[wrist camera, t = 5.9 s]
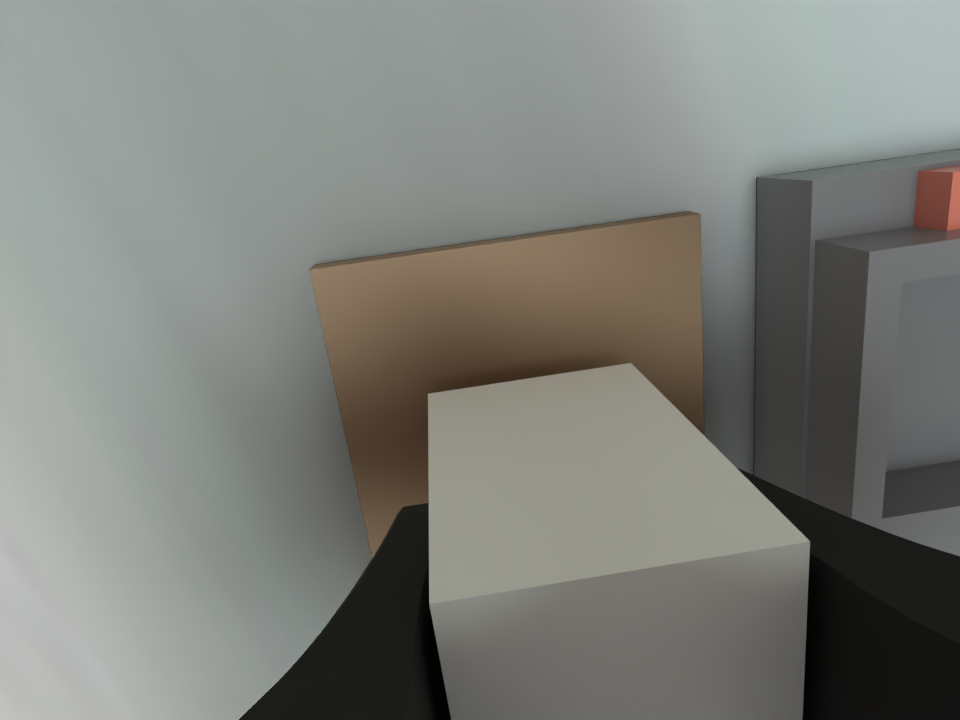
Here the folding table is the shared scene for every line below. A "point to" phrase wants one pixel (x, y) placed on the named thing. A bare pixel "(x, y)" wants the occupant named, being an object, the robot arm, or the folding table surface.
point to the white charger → (605, 560)
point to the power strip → (863, 342)
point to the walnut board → (502, 332)
